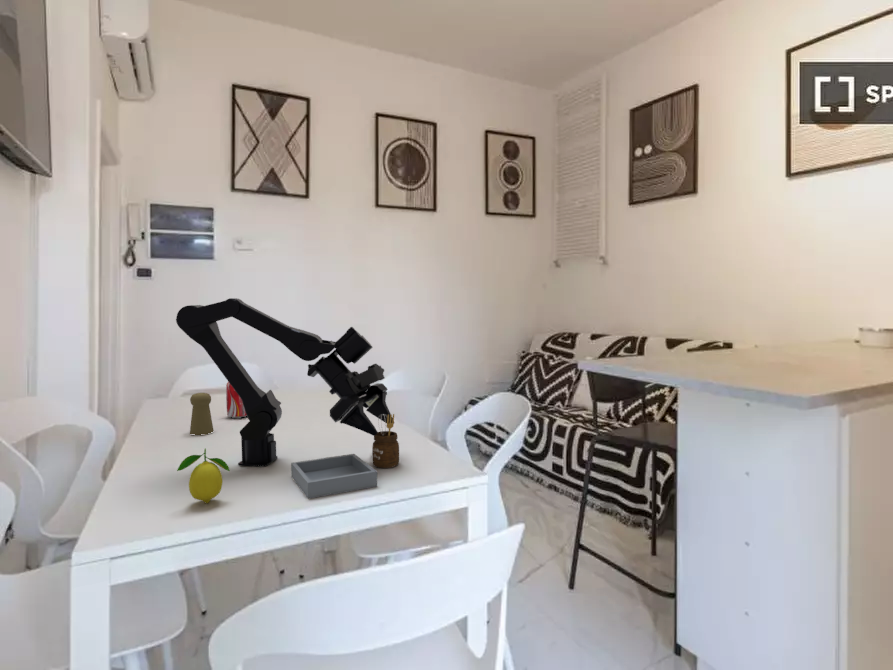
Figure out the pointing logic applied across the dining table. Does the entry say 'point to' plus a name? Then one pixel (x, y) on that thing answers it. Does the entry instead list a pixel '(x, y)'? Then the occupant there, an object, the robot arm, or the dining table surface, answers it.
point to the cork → (201, 414)
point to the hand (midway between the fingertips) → (384, 429)
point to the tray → (333, 475)
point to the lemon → (204, 477)
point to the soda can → (234, 403)
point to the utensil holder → (385, 447)
